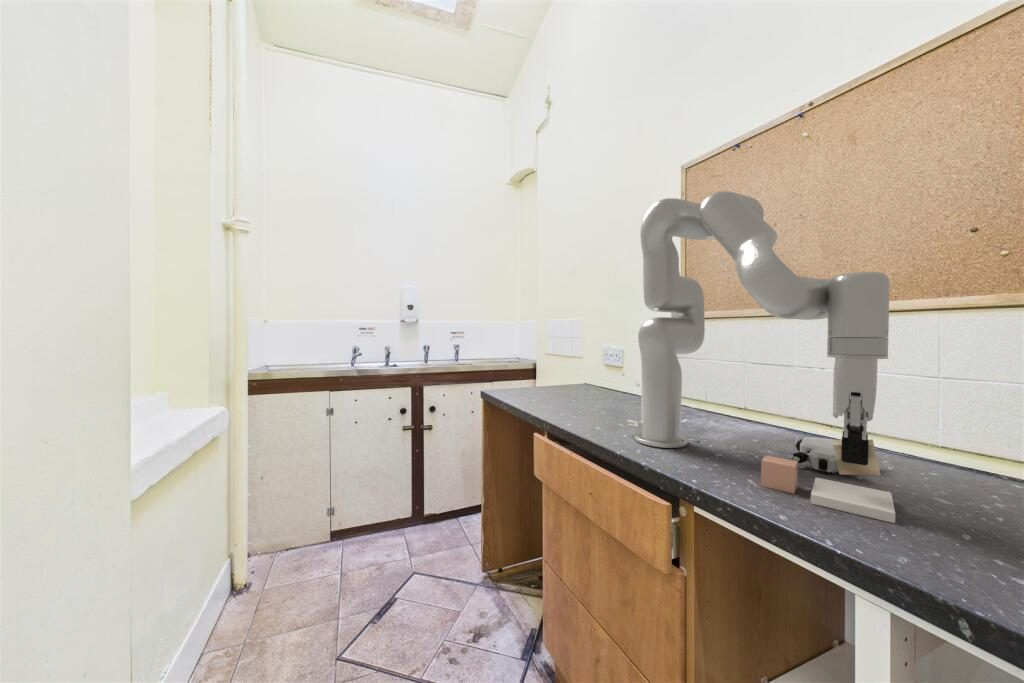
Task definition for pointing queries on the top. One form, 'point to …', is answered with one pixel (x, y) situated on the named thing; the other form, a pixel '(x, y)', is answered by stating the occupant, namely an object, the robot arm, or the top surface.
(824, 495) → the base plate
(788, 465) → the clay brick
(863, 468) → the beech brick
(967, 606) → the top surface
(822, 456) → the robot toy
